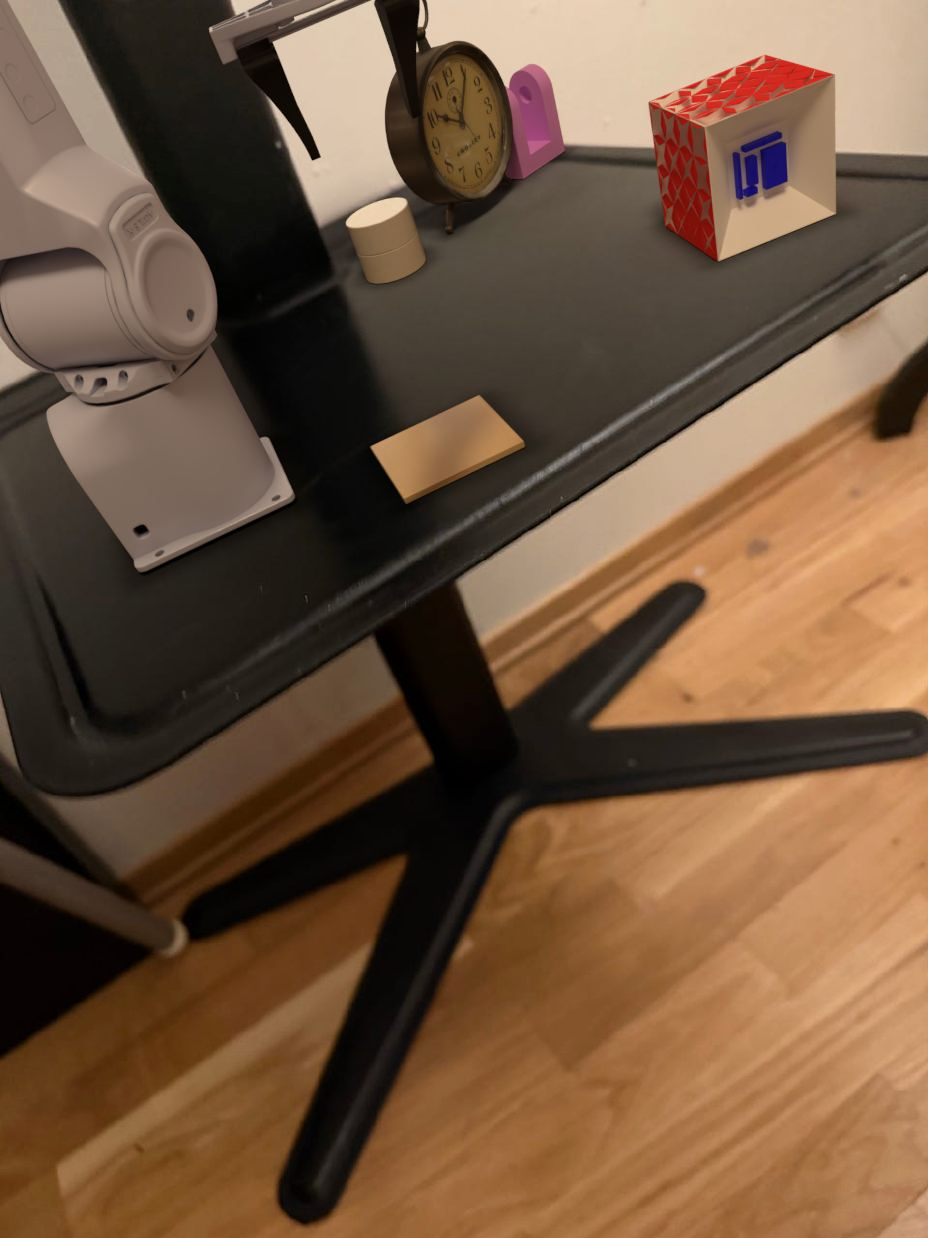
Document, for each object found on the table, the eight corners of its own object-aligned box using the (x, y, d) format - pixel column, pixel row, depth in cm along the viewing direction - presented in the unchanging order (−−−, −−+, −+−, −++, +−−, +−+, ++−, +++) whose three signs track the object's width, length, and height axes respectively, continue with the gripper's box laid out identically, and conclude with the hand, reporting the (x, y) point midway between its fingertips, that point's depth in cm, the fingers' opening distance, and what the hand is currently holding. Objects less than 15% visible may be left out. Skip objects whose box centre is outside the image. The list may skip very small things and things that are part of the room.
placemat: (406, 504, 47) (403, 498, 46) (372, 451, 51) (369, 446, 51) (525, 447, 47) (523, 440, 47) (481, 400, 52) (479, 394, 52)
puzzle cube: (772, 182, 62) (765, 54, 56) (836, 213, 56) (835, 73, 50) (663, 226, 62) (646, 102, 56) (716, 262, 56) (703, 127, 50)
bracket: (565, 150, 78) (547, 62, 74) (523, 178, 76) (502, 89, 72) (464, 150, 87) (442, 71, 82) (424, 176, 85) (400, 96, 80)
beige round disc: (376, 290, 68) (366, 262, 67) (358, 272, 72) (348, 245, 71) (435, 263, 69) (426, 235, 67) (414, 246, 72) (405, 219, 71)
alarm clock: (456, 241, 71) (385, 4, 60) (406, 241, 74) (331, 16, 63) (532, 178, 76) (479, -50, 65) (482, 181, 79) (424, -36, 68)
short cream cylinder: (366, 262, 67) (355, 233, 65) (348, 245, 71) (338, 217, 69) (426, 235, 67) (416, 205, 66) (405, 219, 71) (396, 191, 70)
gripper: (382, -146, 57) (447, 83, 67) (174, -57, 58) (267, 159, 67) (402, -144, 52) (469, 104, 61) (173, -46, 53) (274, 185, 62)
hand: (365, 134), depth 64 cm, fingers open, 7 cm apart
